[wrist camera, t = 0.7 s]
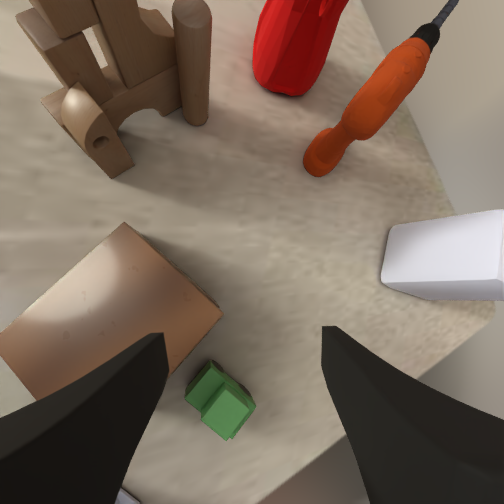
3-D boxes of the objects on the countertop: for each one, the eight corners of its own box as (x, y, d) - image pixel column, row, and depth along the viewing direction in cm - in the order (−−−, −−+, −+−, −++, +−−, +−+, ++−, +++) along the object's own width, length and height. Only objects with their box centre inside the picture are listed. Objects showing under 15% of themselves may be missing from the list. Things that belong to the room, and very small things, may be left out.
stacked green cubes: (250, 392, 29) (261, 415, 24) (228, 421, 28) (234, 452, 24) (210, 356, 29) (212, 373, 24) (185, 385, 28) (182, 408, 23)
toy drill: (389, 92, 37) (504, -15, 22) (319, 185, 35) (391, 137, 20) (366, 71, 36) (468, -55, 22) (294, 164, 35) (349, 98, 20)
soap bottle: (362, 213, 35) (617, 114, 14) (437, 242, 38) (755, 195, 16) (348, 276, 34) (611, 274, 12) (428, 301, 36) (766, 338, 15)
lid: (224, 313, 22) (223, 313, 21) (96, 461, 18) (89, 467, 18) (127, 224, 24) (123, 221, 23) (-2, 341, 21) (-11, 342, 20)
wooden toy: (111, 183, 28) (-417, -368, 4) (73, 138, 28) (-737, -747, 4) (212, 119, 32) (250, -384, 8) (180, 78, 32) (112, -583, 7)
